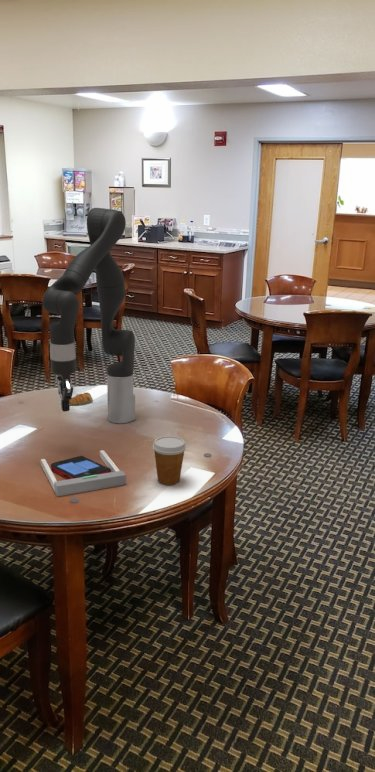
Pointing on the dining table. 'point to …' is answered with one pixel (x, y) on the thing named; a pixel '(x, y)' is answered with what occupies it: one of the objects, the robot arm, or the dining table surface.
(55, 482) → the charging dock
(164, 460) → the disposable coffee cup
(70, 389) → the robot arm
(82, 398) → the pastry
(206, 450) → the dining table surface
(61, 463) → the game console
